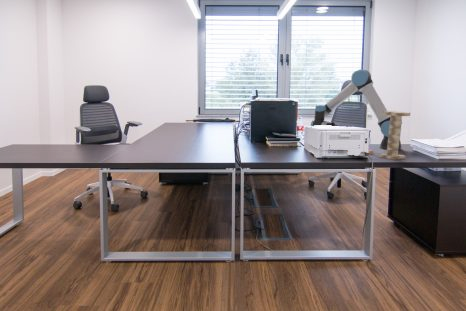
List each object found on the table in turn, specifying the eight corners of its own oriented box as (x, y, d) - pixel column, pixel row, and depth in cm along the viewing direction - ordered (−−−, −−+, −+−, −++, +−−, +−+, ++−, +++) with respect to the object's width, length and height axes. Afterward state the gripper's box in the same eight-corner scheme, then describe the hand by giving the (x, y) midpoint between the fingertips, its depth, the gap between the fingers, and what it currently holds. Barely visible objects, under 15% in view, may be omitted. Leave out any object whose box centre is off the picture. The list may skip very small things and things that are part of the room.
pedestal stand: (378, 156, 279) (383, 111, 274) (389, 155, 286) (393, 111, 281) (394, 159, 270) (399, 113, 264) (405, 158, 277) (410, 112, 271)
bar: (345, 149, 309) (346, 145, 309) (350, 148, 311) (350, 144, 310) (368, 154, 288) (368, 150, 287) (372, 154, 289) (373, 150, 289)
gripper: (338, 130, 327) (361, 134, 311) (316, 132, 312) (339, 136, 296) (339, 121, 326) (362, 124, 309) (317, 122, 311) (340, 125, 294)
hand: (351, 130), depth 302 cm, fingers open, 13 cm apart
